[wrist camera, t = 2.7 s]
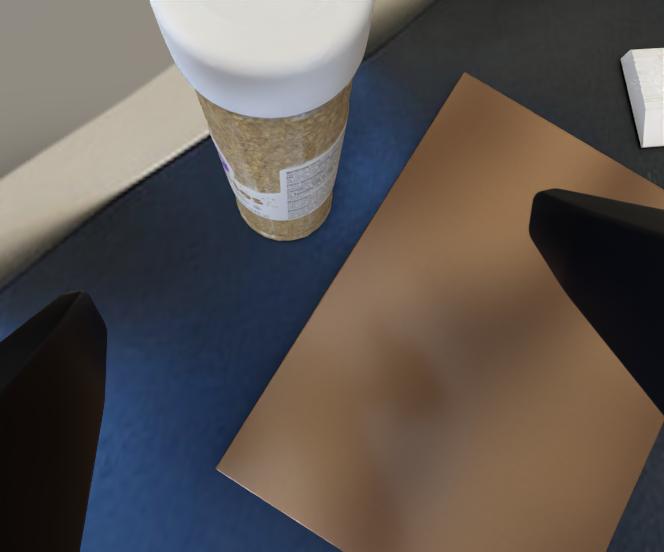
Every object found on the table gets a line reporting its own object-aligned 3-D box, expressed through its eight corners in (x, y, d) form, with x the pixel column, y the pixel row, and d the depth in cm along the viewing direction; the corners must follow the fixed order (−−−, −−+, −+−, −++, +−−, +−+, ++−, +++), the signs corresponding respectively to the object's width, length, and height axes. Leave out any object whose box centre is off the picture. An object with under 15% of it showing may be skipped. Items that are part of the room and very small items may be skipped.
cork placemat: (736, 240, 23) (745, 238, 23) (541, 675, 19) (547, 683, 19) (461, 77, 24) (464, 71, 23) (217, 466, 20) (214, 469, 19)
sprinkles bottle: (219, 185, 22) (90, -77, 9) (298, 135, 23) (292, -178, 9) (273, 263, 21) (225, 112, 8) (352, 210, 22) (428, -9, 9)
